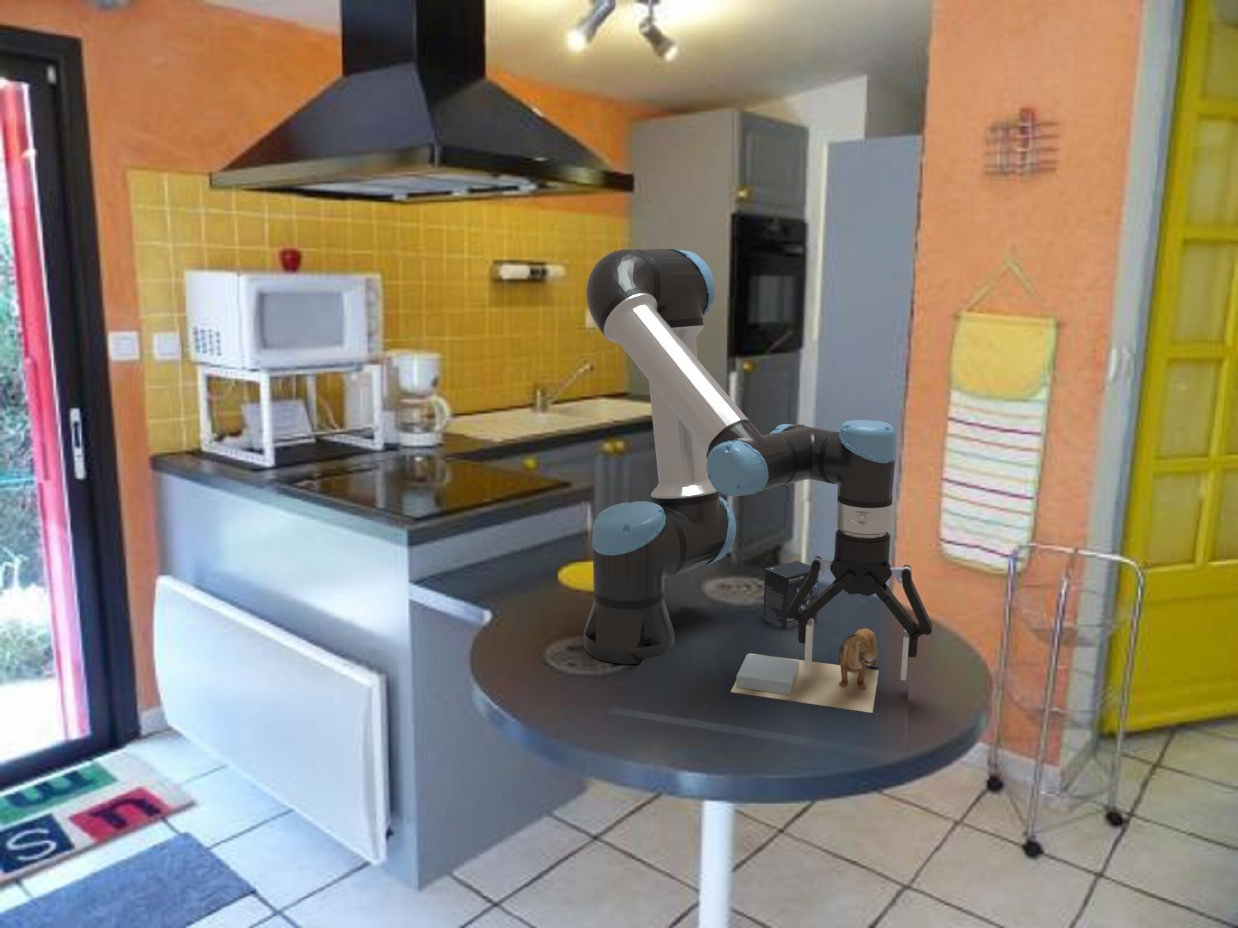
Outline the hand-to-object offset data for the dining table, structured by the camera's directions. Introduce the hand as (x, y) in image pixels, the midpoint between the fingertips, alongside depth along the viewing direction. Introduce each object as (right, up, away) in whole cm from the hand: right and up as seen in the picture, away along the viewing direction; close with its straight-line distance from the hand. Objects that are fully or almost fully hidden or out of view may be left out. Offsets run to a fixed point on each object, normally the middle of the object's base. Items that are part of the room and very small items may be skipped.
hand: (855, 669), depth 133 cm
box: (-5, +2, +26) cm, 27 cm away
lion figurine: (+1, -2, +3) cm, 4 cm away
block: (-11, 0, +7) cm, 13 cm away
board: (-7, -3, +3) cm, 8 cm away
